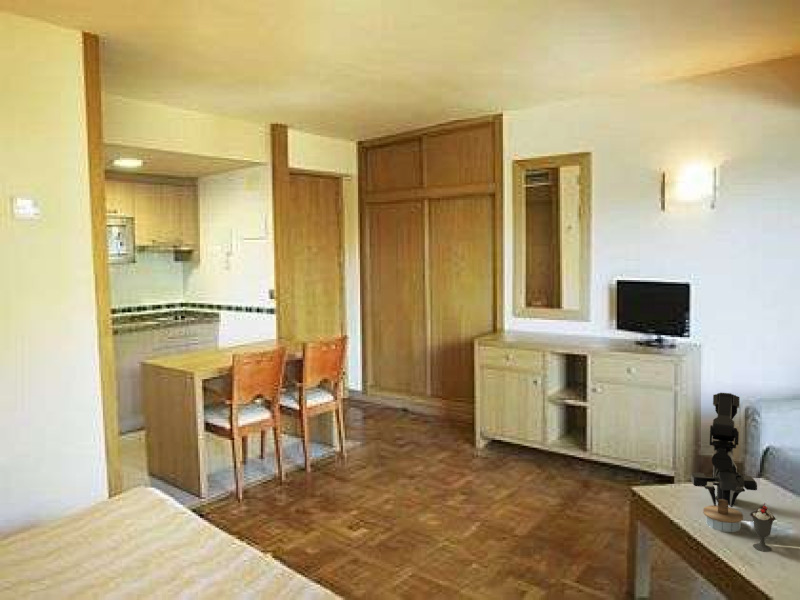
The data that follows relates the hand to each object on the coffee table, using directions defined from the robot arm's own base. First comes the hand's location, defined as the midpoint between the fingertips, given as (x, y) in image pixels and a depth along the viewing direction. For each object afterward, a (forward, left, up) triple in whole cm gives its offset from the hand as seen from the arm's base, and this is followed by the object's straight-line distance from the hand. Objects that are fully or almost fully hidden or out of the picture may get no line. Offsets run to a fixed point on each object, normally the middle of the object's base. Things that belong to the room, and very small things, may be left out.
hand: (723, 506), depth 193 cm
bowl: (0, 0, -7) cm, 7 cm away
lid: (0, 0, -3) cm, 3 cm away
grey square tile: (-10, +9, -7) cm, 15 cm away
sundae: (+13, +8, -7) cm, 17 cm away
